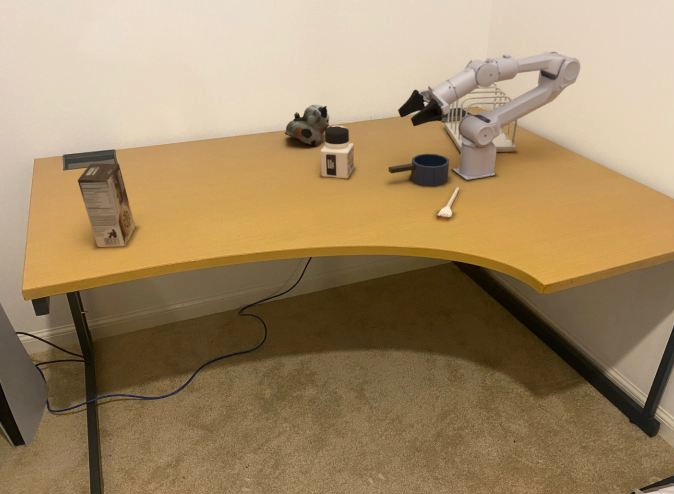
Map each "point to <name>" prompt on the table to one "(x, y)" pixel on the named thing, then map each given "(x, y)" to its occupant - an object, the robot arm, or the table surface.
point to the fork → (448, 206)
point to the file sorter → (502, 140)
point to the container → (337, 153)
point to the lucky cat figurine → (309, 125)
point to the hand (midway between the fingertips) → (405, 118)
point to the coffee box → (107, 204)
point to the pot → (426, 169)
